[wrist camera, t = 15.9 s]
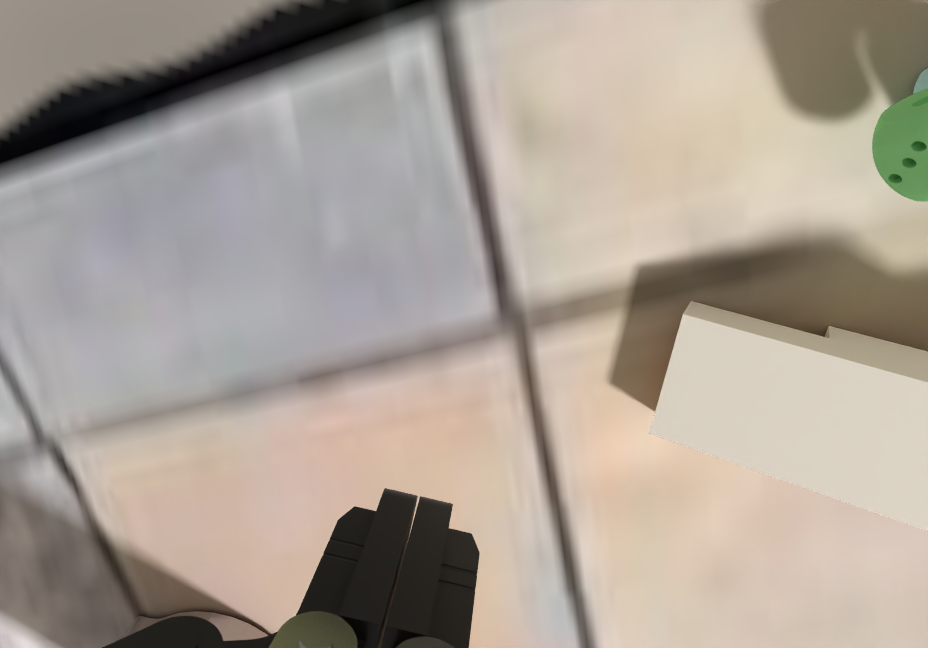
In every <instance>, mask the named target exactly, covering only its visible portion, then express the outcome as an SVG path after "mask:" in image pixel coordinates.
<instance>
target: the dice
mask: <svg viewBox="0 0 928 648" xmlns="http://www.w3.org/2000/svg"><path fill="white" fill-rule="evenodd" d="M872 150H873V158H874V162H875V165H876V167H877V170H878V172H879V173H880V175H881V177H882V178H883V179H884V181H885V182H886V183H887V184H888V185H889V186H890V187H891V188H892V189H893V190H895V191H896V192H897V193H899V194H901V195H902V196H904V197H907V198H909V199H912V200H915V201H921V202H927V201H928V68H927V69H925V70H924V71H923V72H922V73H921V74H920V75H919V77H918V79H917V82H916V84H915V87H914V90H913V94H912V95H910V96H908V97H906V98H904V99H902V100H900V101H899V102H897V103H895V104H894V105H892V106H891V107H889V108H888V109H887V110H885V111H884V112H883V113H882V115H881V116H880V118H879V120H878V123H877V125H876V128H875V131H874V135H873V143H872Z"/></svg>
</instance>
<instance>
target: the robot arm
mask: <svg viewBox="0 0 928 648" xmlns="http://www.w3.org/2000/svg"><path fill="white" fill-rule="evenodd" d="M416 502H417V496H416V495H412V494H408V493H403V492H399V491H395V490H390V489H386V488H385V489H384V491H383V494H382V497H381V500H380V502H379V505H378V508H377V511H372V510H368V509H364V508H360V507H353V508H352V509H351V510H350V511H348V512H347V513H346V514H345V515H343V516H342V517H341V518H340V519H339V520H338V521H337V524H336V526H335V528H334V531H333V533H332V535H331V537H330V541H329V542H328V544H327V547H326V549H325V551H324V554H323V556H322V558H321V560H320V563H319V565H318V567H317V570H316V572H315V574H314V576H313V579H312V581H311V583H310V586H309V588H308V590H307V592H306V595H305V597H304V599H303V602H302V604H301V606H300V608H299V611H298V612H297V614H296V616H294V617H292V618H291V619H289V620H288V621H286V622H285V623H284V624H283V625H282V626H281V628H280V629H279V631H278V632H276V633H274V634H271V635H269V636H268V635H267V634H266V633H264V632H262V631H261V630H259V629H257V628H256V627H254V626H252V625H250V624H249V623H246V622H244V621H241V620H238V619H236V618H233V617H231V616H226V615H222V614H218V613H213V612H200V611H192V612H183V613H177V614H174V615H170V616H167V617H164V618H160V619H153V618H147V617H143V616H138V617H137V618H136V619H135V621H134V622H133V623H132V625H131V626H130V628H129V629H128V630H127V632H126V633H125V635H124V636H123V637H122V639H120V640H118V641H116V642H114V643H112V644H109V645H107V646H105V647H103V648H469V639H470V631H471V622H472V613H473V605H474V596H475V587H476V579H477V570H478V561H479V550H478V548H477V545H476V543H475V541H474V538H473V536H472V534H471V533H467V532H462V531H458V530H454V529H450V528H448V527H449V522H450V517H451V511H452V506H453V504H451V503H447V502H442V501H438V500H434V499H430V498H425V497H421V496H420V499H419V503H418V507H417V510H416V514H415V518H414V522H413V525H412V520H413V516H414V511H415V506H416ZM411 525H412V529H411ZM410 530H411V533H410ZM409 534H410V536H409ZM408 539H409V540H408Z"/></svg>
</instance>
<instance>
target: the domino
mask: <svg viewBox="0 0 928 648" xmlns="http://www.w3.org/2000/svg"><path fill="white" fill-rule="evenodd" d="M649 434H652V435H655V436H658V437H660V438H663V439H666V440H669V441H672V442H675V443H677V444H680V445H683V446H686V447H689V448H692V449H694V450H697V451H700V452H703V453H706V454H709V455H712V456H714V457H717V458H720V459H723V460H726V461H729V462H731V463H734V464H737V465H740V466H743V467H746V468H748V469H751V470H754V471H757V472H760V473H763V474H766V475H768V476H771V477H774V478H777V479H780V480H783V481H785V482H788V483H791V484H794V485H797V486H800V487H802V488H805V489H808V490H811V491H814V492H817V493H819V494H822V495H825V496H828V497H831V498H834V499H837V500H839V501H842V502H845V503H848V504H851V505H854V506H856V507H859V508H862V509H865V510H868V511H871V512H873V513H876V514H879V515H882V516H885V517H888V518H890V519H893V520H896V521H899V522H902V523H905V524H908V525H910V526H913V527H916V528H919V529H922V530H925V531H927V532H928V365H926V364H922V363H919V362H915V361H911V360H907V359H904V358H900V357H896V356H893V355H889V354H885V353H882V352H878V351H874V350H870V349H867V348H863V347H859V346H856V345H852V344H848V343H845V342H841V341H837V340H834V339H830V338H826V337H822V336H819V335H815V334H811V333H808V332H804V331H800V330H797V329H793V328H789V327H785V326H782V325H778V324H774V323H771V322H767V321H763V320H760V319H756V318H752V317H748V316H745V315H741V314H737V313H734V312H730V311H726V310H723V309H719V308H715V307H712V306H708V305H704V304H700V303H697V302H693V301H691V302H690V303H689V305H688V307H687V308H686V310H685V312H684V313H683V316H682V319H681V323H680V326H679V330H678V333H677V337H676V340H675V344H674V347H673V351H672V354H671V358H670V361H669V365H668V368H667V372H666V375H665V379H664V382H663V386H662V389H661V393H660V396H659V400H658V404H657V407H656V411H655V414H654V418H653V421H652V425H651V428H650V432H649Z"/></svg>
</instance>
